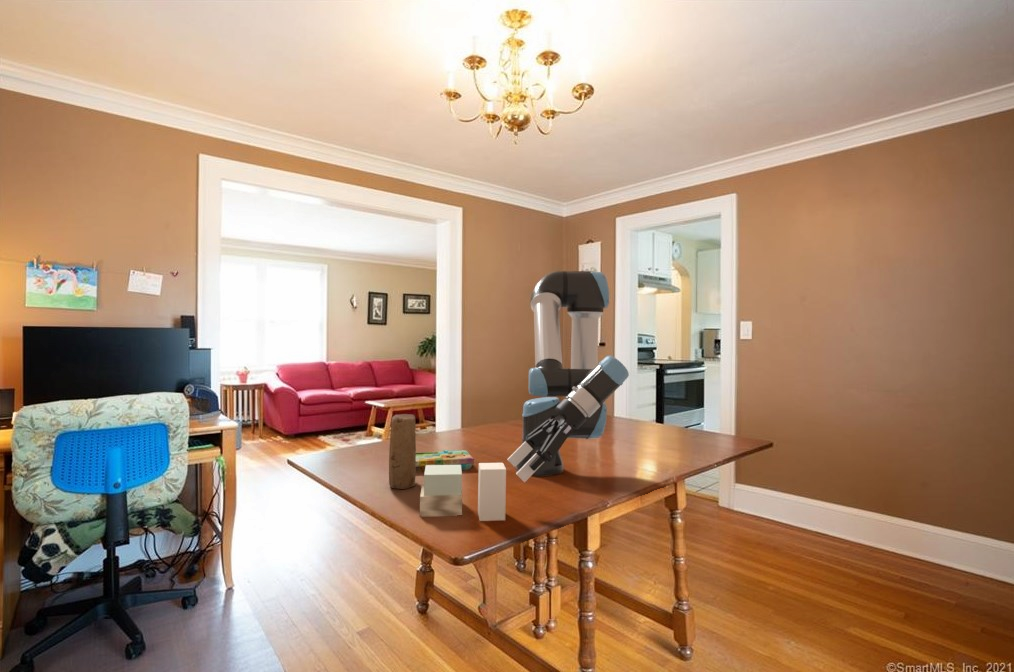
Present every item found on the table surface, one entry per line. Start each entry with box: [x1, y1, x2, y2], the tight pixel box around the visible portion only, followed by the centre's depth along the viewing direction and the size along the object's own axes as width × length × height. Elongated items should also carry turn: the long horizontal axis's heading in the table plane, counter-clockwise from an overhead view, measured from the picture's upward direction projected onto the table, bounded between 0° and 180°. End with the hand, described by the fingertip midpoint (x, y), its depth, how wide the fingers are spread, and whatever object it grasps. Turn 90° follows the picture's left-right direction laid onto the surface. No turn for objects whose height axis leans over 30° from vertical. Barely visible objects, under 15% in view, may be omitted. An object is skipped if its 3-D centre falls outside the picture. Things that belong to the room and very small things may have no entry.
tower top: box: [423, 465, 463, 496], centre depth 124 cm, size 9×9×5 cm
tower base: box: [419, 483, 463, 518], centre depth 124 cm, size 10×10×5 cm
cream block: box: [477, 462, 507, 522], centre depth 119 cm, size 6×6×12 cm
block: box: [388, 413, 417, 490], centre depth 143 cm, size 11×8×20 cm
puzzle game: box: [416, 449, 475, 473], centre depth 163 cm, size 12×5×20 cm
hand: (515, 470), depth 120 cm, fingers open, 13 cm apart
